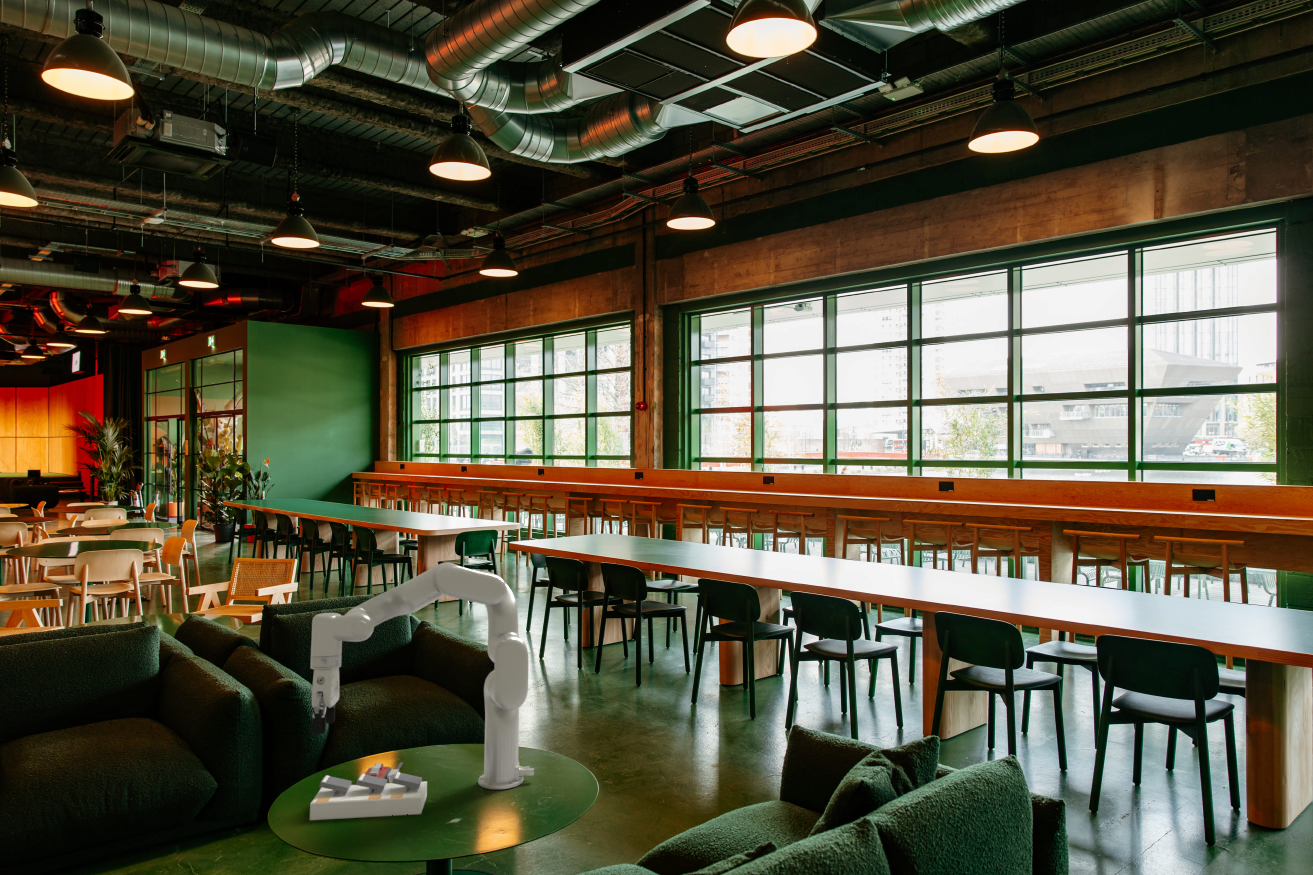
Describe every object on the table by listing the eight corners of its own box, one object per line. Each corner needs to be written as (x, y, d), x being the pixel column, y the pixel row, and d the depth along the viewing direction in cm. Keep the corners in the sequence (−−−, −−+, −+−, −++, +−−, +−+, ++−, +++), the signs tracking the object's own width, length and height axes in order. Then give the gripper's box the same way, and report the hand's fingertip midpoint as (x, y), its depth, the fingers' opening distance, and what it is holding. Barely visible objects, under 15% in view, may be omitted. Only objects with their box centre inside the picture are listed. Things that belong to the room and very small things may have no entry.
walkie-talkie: (388, 792, 221) (405, 767, 241) (389, 776, 221) (405, 752, 241) (355, 793, 220) (375, 768, 240) (356, 776, 221) (375, 753, 241)
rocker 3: (421, 781, 215) (422, 776, 215) (418, 788, 210) (420, 783, 210) (395, 776, 214) (396, 771, 214) (392, 782, 209) (393, 777, 209)
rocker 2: (386, 783, 214) (387, 778, 214) (382, 790, 209) (384, 785, 209) (359, 777, 213) (361, 772, 213) (355, 784, 208) (357, 779, 208)
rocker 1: (350, 785, 212) (352, 780, 212) (346, 792, 207) (348, 787, 207) (324, 779, 211) (325, 774, 211) (319, 786, 206) (320, 781, 206)
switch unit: (426, 796, 217) (427, 775, 218) (420, 813, 206) (421, 792, 206) (321, 801, 213) (322, 780, 213) (309, 819, 201) (310, 797, 202)
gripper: (332, 667, 203) (330, 737, 202) (348, 654, 220) (346, 718, 219) (301, 668, 202) (298, 738, 201) (319, 654, 219) (317, 719, 218)
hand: (323, 727), depth 210 cm, fingers open, 9 cm apart
